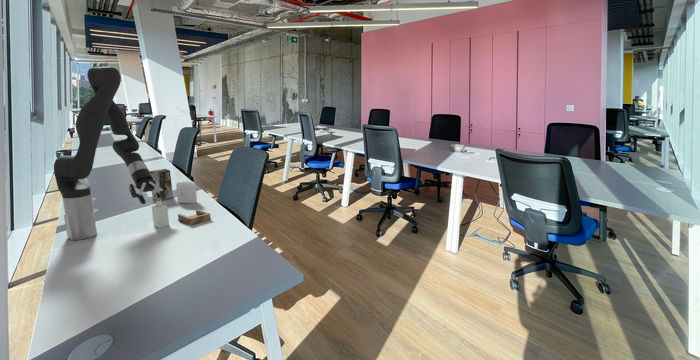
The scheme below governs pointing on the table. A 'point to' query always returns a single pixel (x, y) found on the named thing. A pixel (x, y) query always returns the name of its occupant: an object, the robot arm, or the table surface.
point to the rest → (194, 218)
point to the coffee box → (166, 178)
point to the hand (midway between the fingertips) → (154, 201)
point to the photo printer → (186, 192)
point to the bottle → (160, 214)
